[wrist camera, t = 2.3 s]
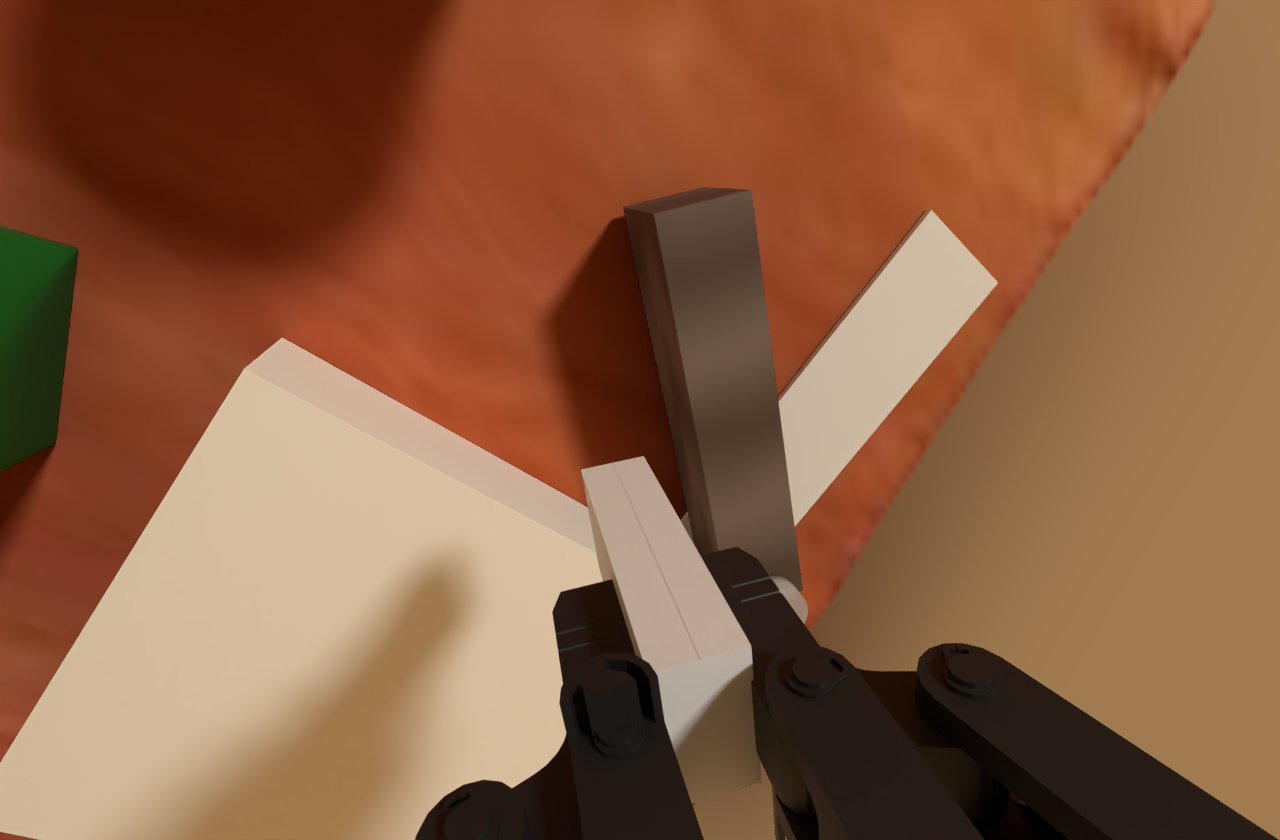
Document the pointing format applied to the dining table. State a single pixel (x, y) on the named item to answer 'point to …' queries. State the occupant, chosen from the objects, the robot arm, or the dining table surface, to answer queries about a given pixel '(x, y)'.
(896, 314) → the mat
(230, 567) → the cream flat square box
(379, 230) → the dining table surface
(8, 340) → the milk carton
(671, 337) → the dark grey block
